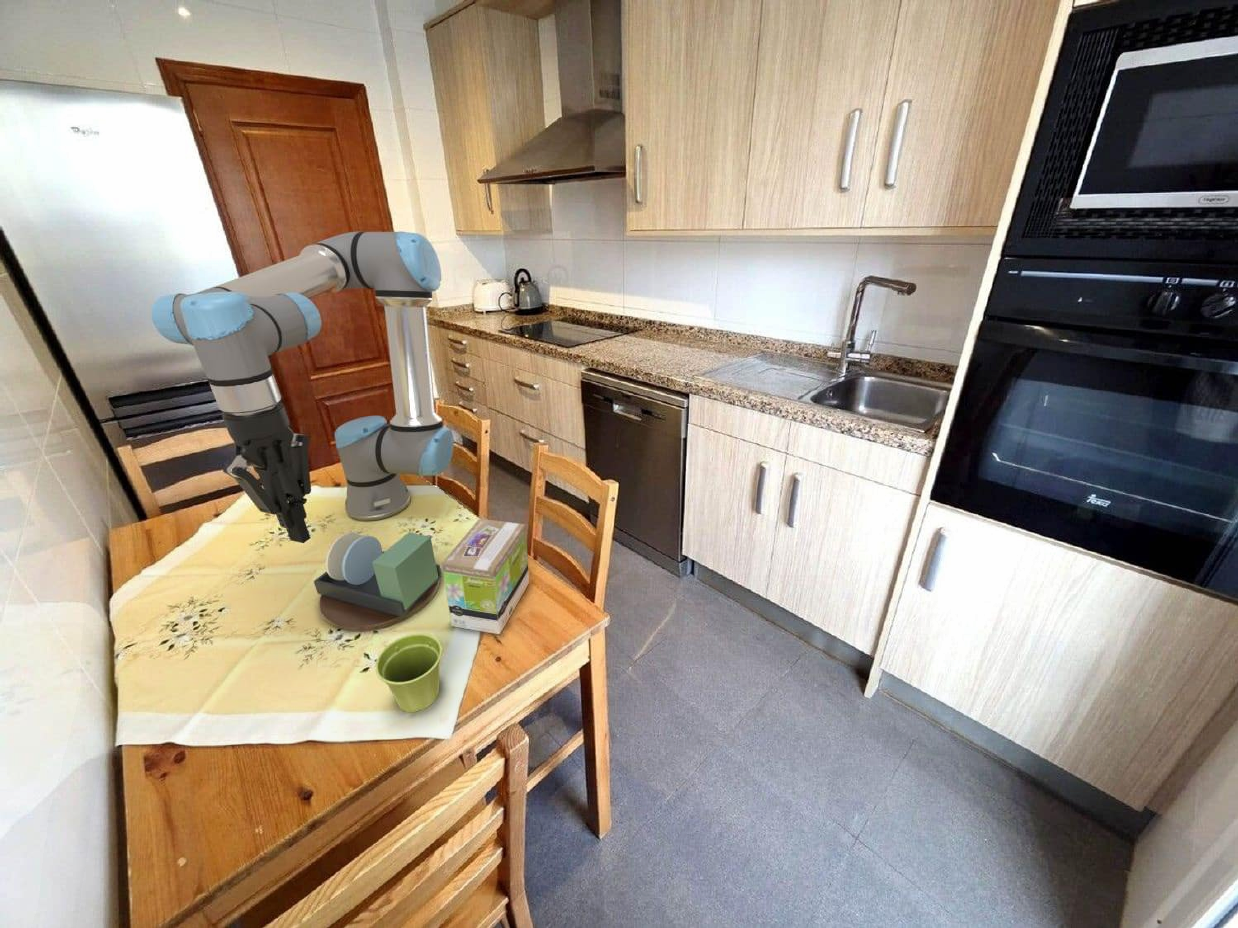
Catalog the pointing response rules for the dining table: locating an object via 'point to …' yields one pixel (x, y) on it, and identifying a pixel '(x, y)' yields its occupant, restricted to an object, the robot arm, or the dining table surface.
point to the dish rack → (379, 572)
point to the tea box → (486, 575)
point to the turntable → (365, 613)
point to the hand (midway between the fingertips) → (300, 539)
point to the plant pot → (411, 670)
